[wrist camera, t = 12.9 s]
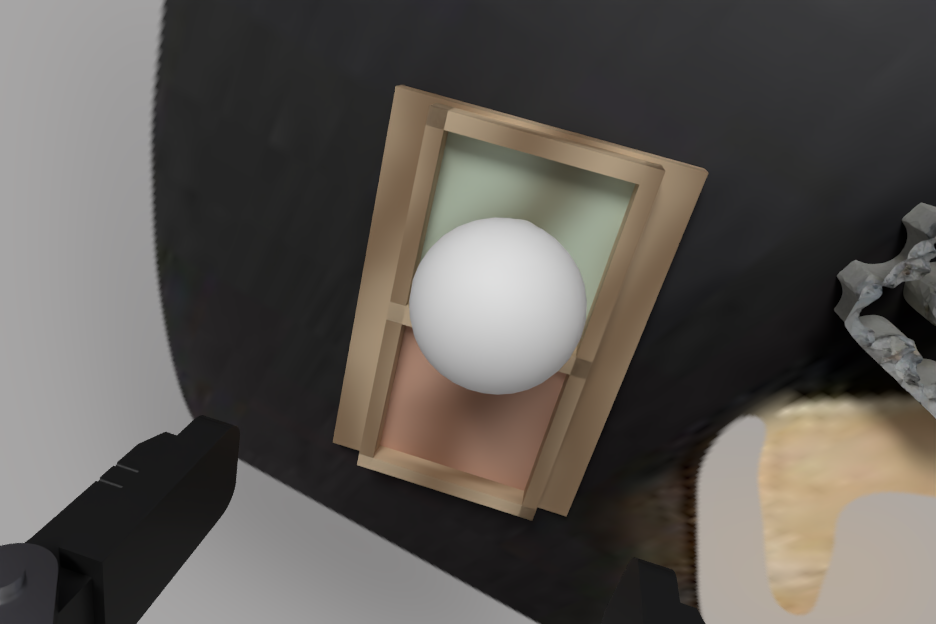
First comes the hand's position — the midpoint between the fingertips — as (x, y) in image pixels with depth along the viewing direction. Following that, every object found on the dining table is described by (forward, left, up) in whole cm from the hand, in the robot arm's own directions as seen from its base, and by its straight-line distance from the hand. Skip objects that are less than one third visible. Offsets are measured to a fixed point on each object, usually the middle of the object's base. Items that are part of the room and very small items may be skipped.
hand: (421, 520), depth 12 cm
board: (0, +5, -20) cm, 20 cm away
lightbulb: (0, 0, -19) cm, 19 cm away
